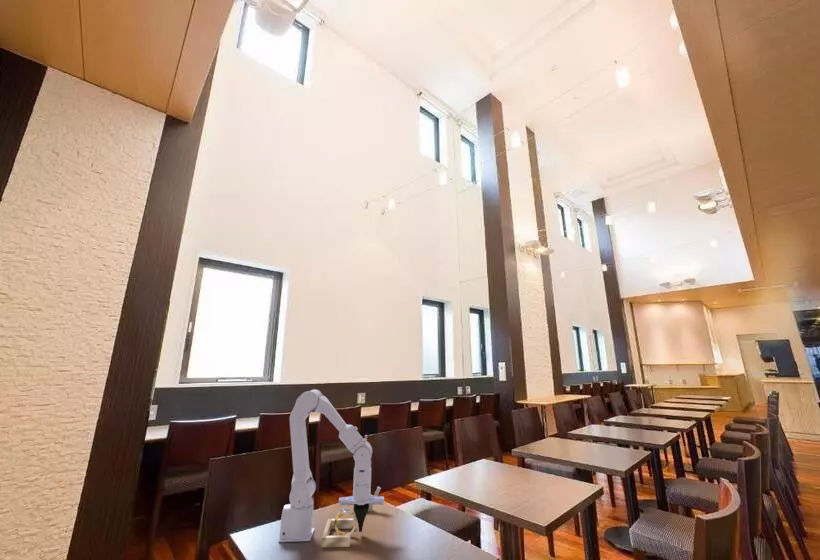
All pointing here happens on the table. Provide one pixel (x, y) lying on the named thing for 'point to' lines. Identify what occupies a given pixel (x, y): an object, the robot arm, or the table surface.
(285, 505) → the robot arm
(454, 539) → the table surface
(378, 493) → the lighter
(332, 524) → the keeper
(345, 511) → the ring
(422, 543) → the table surface
